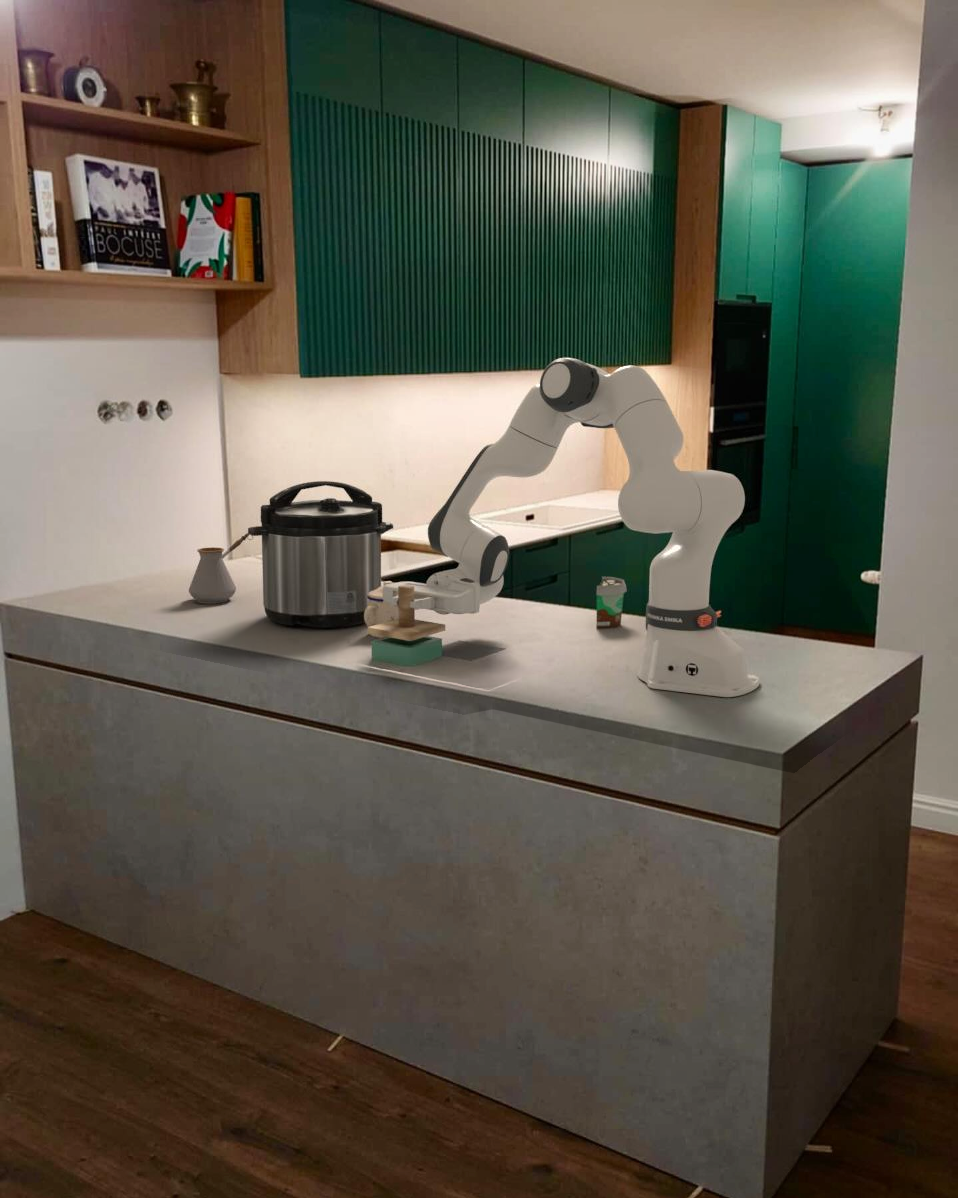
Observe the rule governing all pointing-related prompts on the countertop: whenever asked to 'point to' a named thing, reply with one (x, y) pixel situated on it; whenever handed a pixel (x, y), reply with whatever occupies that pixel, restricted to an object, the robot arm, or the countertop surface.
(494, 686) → the countertop surface
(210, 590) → the coffee pot
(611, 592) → the food container
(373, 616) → the teacup with lid
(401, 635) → the lid
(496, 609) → the countertop surface
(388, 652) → the dish
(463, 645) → the mat
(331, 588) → the pressure cooker
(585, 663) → the countertop surface
